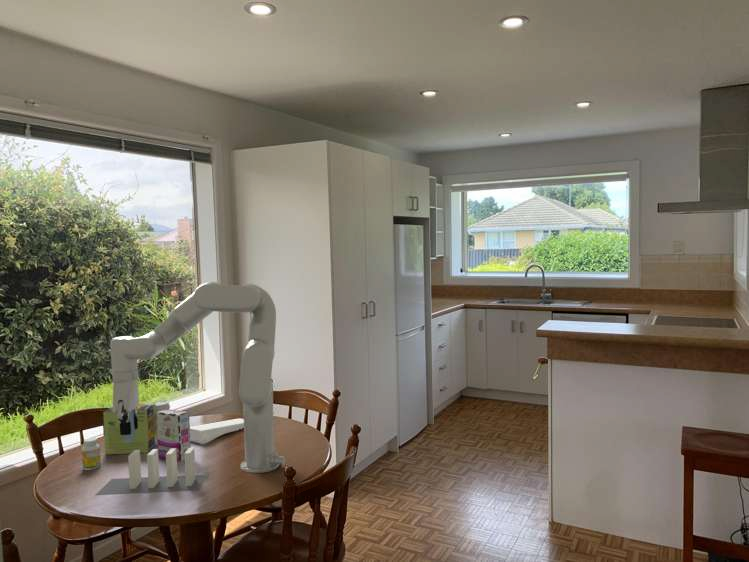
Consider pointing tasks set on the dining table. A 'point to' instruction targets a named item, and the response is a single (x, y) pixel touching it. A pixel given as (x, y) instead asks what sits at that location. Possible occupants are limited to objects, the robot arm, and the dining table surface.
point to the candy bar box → (173, 432)
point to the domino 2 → (153, 468)
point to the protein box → (143, 433)
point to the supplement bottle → (91, 454)
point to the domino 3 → (171, 467)
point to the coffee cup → (161, 407)
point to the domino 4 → (190, 466)
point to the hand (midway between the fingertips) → (129, 431)
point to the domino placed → (132, 436)
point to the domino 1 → (134, 469)
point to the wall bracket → (214, 430)
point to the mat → (124, 486)
